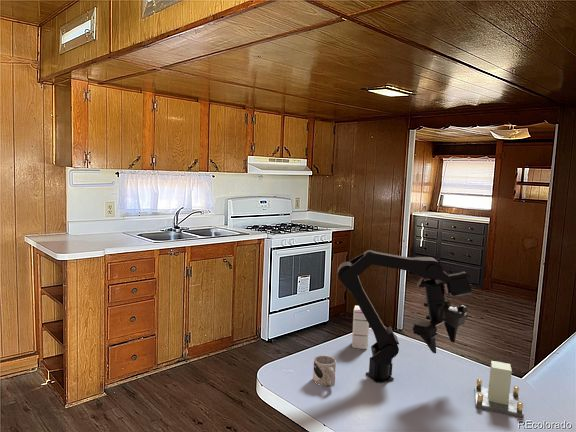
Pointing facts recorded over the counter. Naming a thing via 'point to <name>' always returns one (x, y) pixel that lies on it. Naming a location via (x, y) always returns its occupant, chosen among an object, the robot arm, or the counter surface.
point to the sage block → (499, 382)
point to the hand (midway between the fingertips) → (443, 347)
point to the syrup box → (360, 329)
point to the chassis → (511, 409)
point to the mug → (324, 370)
